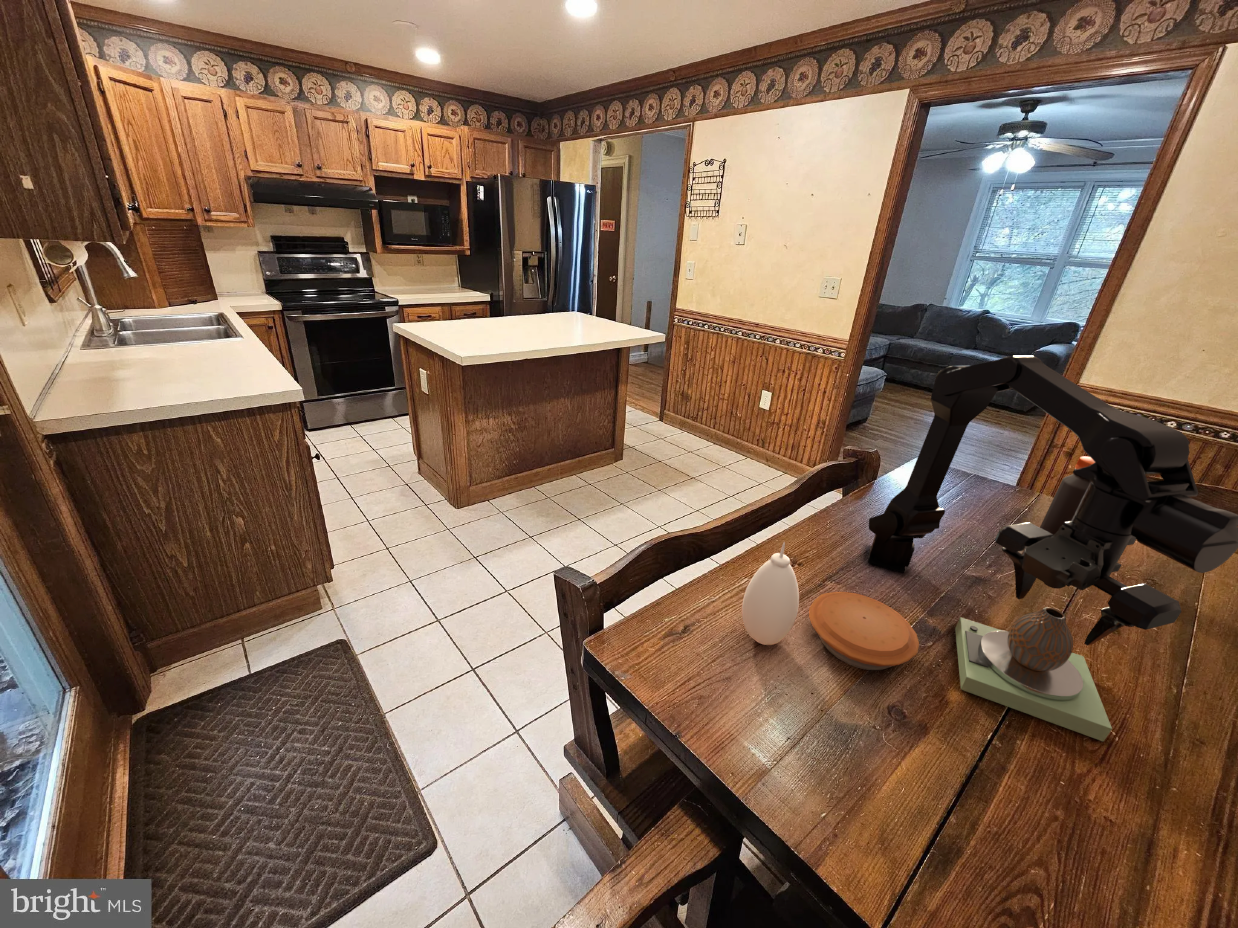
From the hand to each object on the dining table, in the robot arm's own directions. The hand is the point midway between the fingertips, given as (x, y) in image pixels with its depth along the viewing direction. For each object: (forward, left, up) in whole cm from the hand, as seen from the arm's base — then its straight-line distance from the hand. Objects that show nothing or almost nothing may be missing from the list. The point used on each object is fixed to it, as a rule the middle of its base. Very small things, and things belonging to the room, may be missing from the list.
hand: (1051, 619), depth 70 cm
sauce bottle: (-35, -12, -11) cm, 39 cm away
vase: (0, 0, -8) cm, 8 cm away
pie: (-22, -5, -11) cm, 25 cm away
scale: (0, 0, -11) cm, 11 cm away
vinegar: (+12, +47, -11) cm, 50 cm away
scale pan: (0, 0, -8) cm, 8 cm away
